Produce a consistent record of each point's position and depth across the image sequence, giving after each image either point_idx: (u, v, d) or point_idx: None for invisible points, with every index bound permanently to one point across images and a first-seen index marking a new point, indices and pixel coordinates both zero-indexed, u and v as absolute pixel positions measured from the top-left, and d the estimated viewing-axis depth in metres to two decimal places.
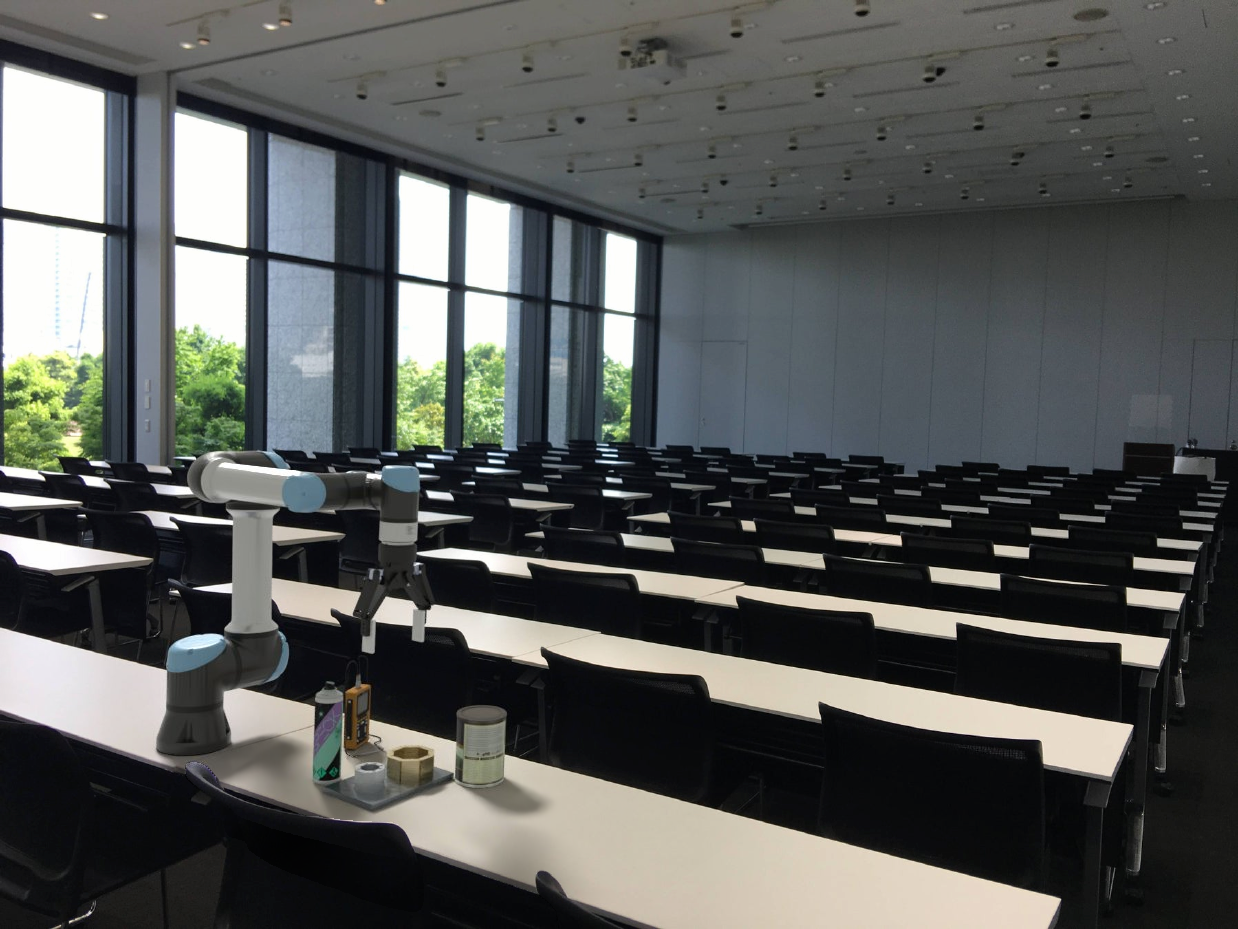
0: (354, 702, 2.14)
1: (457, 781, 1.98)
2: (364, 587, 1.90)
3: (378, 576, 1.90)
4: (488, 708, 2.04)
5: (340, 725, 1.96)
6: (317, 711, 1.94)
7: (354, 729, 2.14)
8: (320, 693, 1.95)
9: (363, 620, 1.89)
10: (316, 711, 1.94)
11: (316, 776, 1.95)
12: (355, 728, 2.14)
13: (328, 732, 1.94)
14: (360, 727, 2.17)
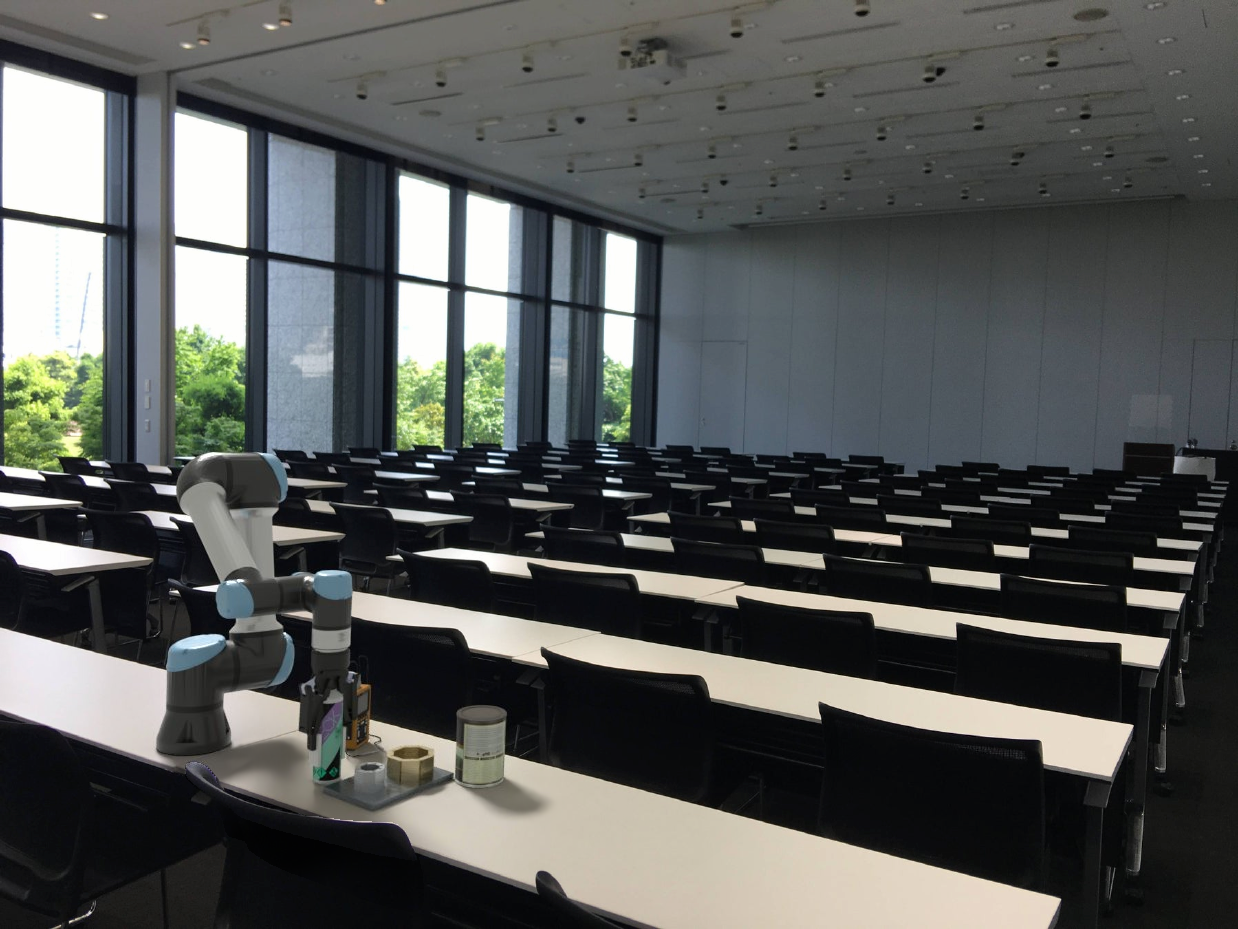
0: None
1: (457, 781, 1.98)
2: (301, 703, 1.92)
3: (310, 690, 1.91)
4: (488, 708, 2.04)
5: (340, 725, 1.96)
6: None
7: (354, 729, 2.14)
8: None
9: (309, 735, 1.93)
10: None
11: (316, 776, 1.95)
12: (355, 728, 2.14)
13: (328, 732, 1.94)
14: (360, 727, 2.17)
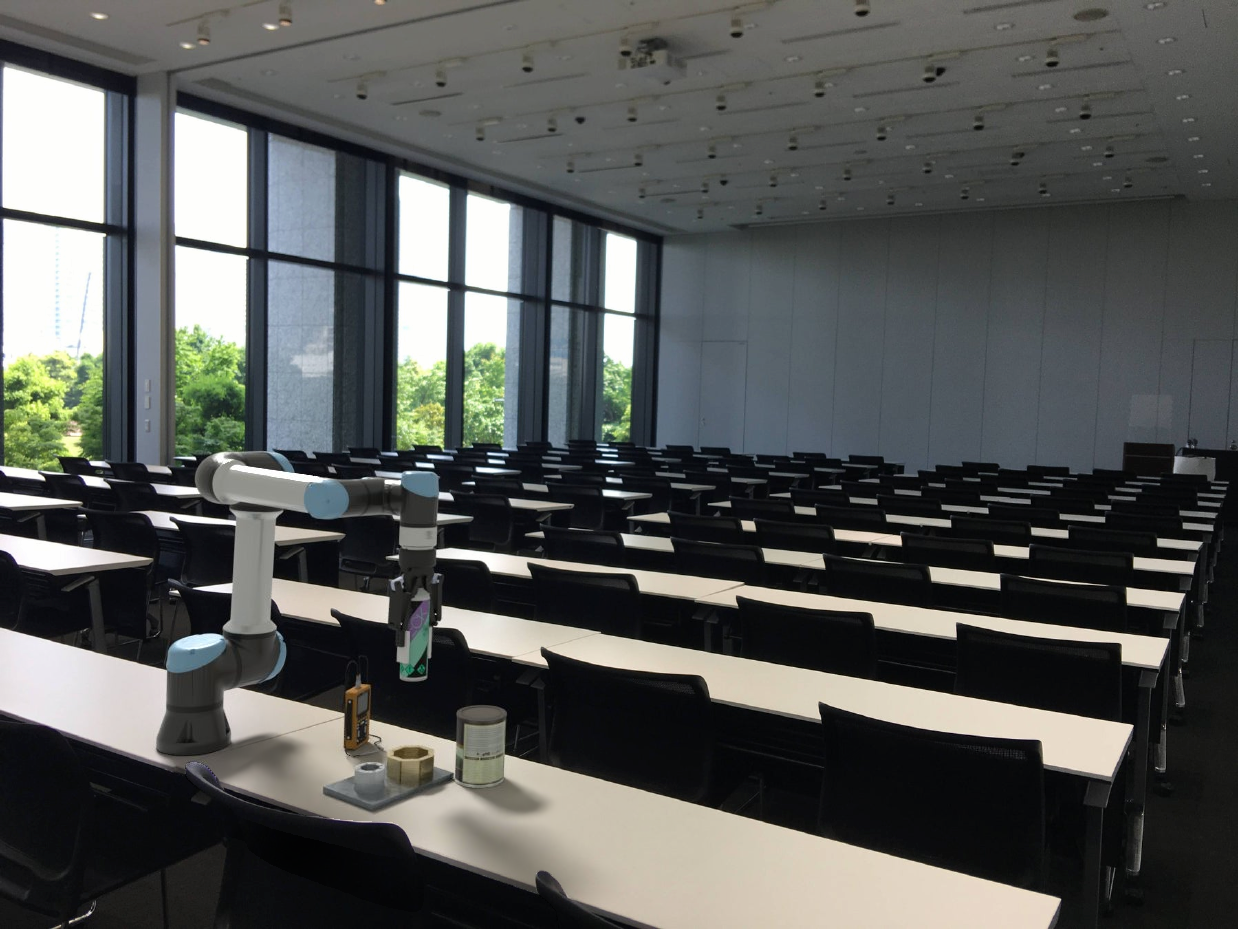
0: (354, 702, 2.14)
1: (457, 781, 1.98)
2: (390, 599, 1.93)
3: (400, 586, 1.93)
4: (488, 708, 2.04)
5: (427, 623, 1.98)
6: None
7: (354, 729, 2.14)
8: None
9: (398, 631, 1.94)
10: None
11: (404, 673, 1.96)
12: (355, 728, 2.14)
13: (417, 630, 1.96)
14: (360, 727, 2.17)
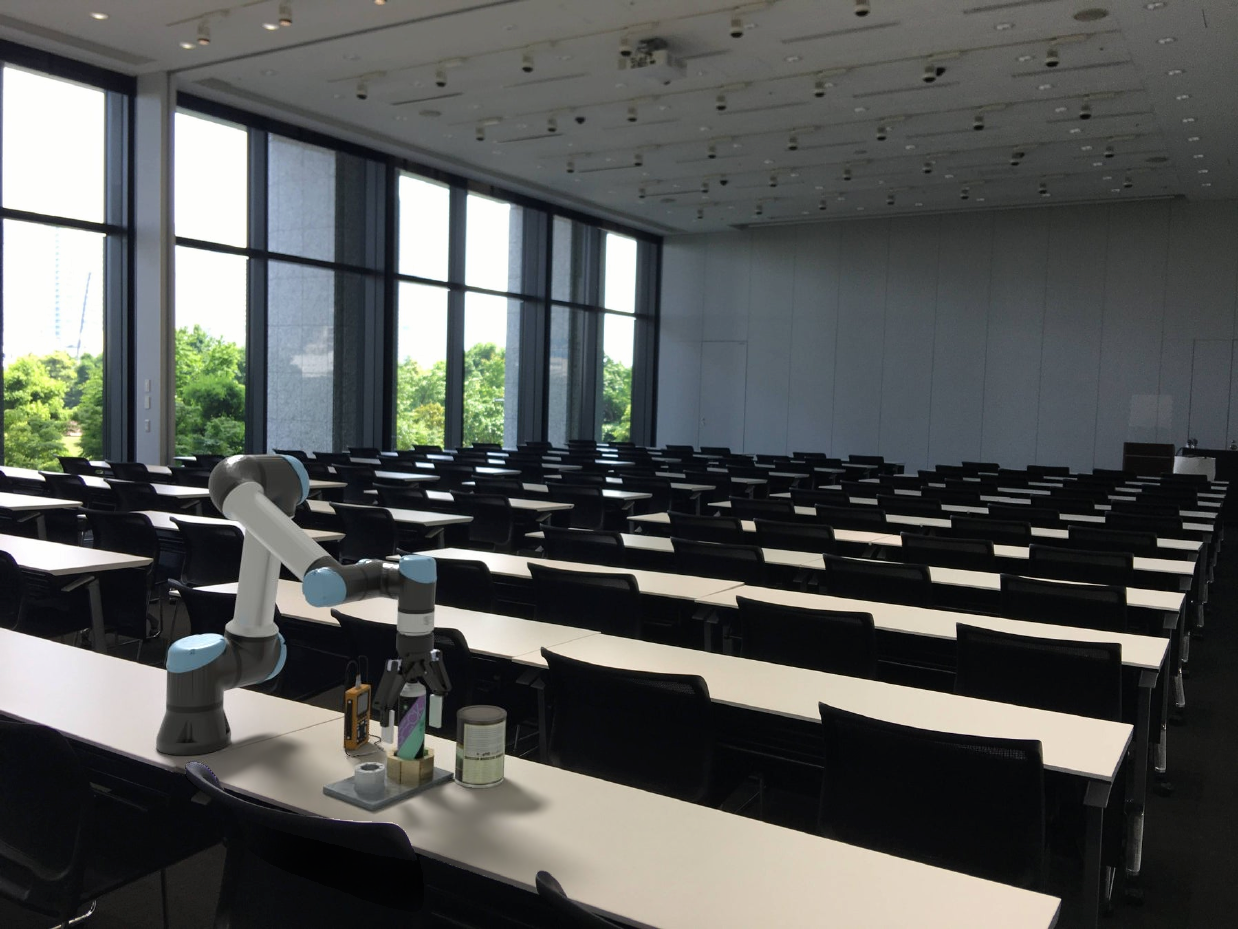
0: (354, 702, 2.14)
1: (457, 781, 1.98)
2: (383, 678, 1.93)
3: (396, 667, 1.93)
4: (488, 708, 2.04)
5: (423, 718, 1.99)
6: (402, 705, 1.97)
7: (354, 729, 2.14)
8: (404, 687, 1.98)
9: (382, 711, 1.92)
10: (400, 704, 1.97)
11: None
12: (355, 728, 2.14)
13: (413, 725, 1.97)
14: (360, 727, 2.17)
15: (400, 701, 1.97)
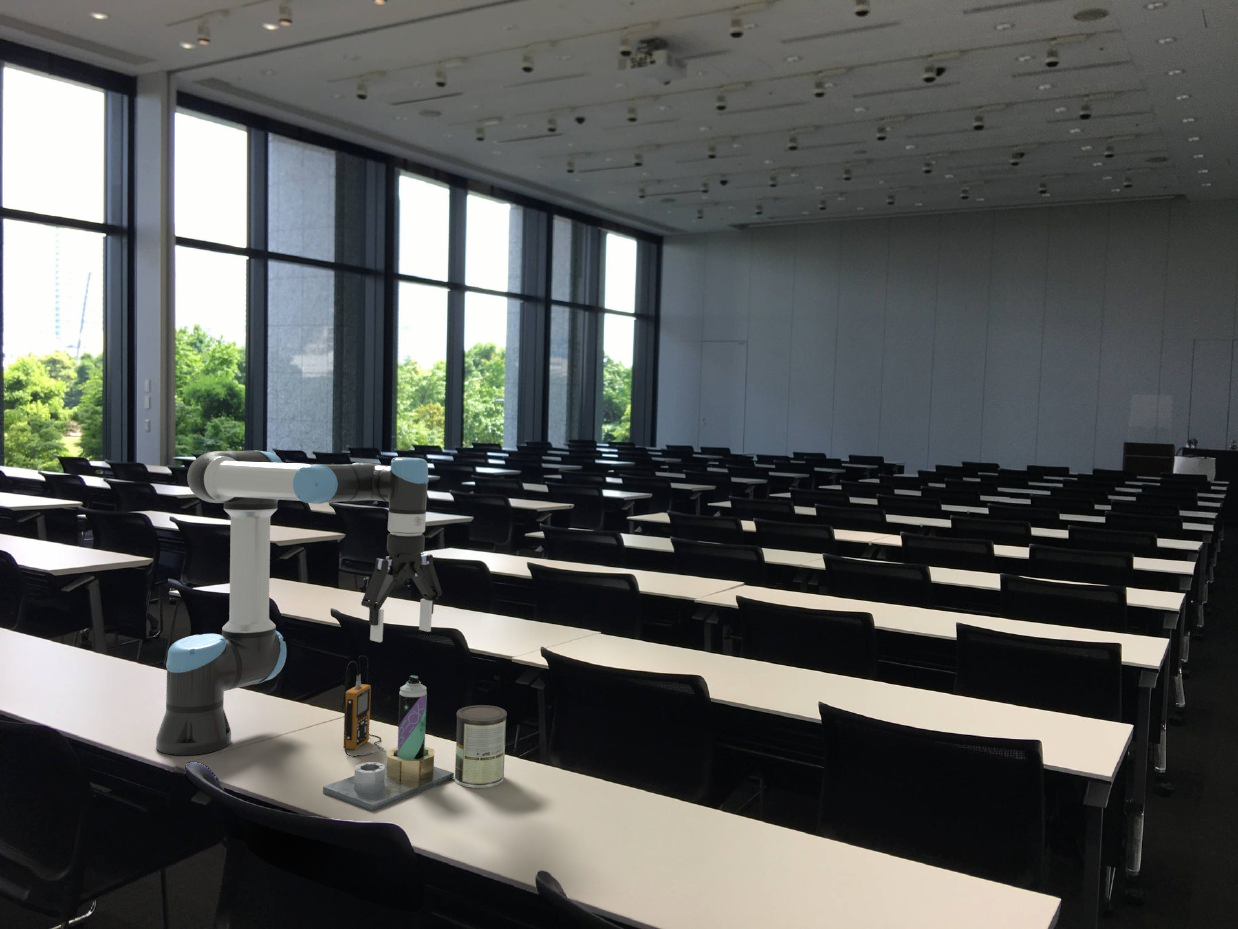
0: (354, 702, 2.14)
1: (457, 781, 1.98)
2: (373, 577, 1.93)
3: (386, 566, 1.93)
4: (488, 708, 2.04)
5: (424, 718, 1.99)
6: (403, 705, 1.97)
7: (354, 729, 2.14)
8: (405, 687, 1.98)
9: (371, 609, 1.92)
10: (401, 704, 1.97)
11: None
12: (355, 728, 2.14)
13: (413, 726, 1.97)
14: (360, 727, 2.17)
15: (401, 701, 1.97)
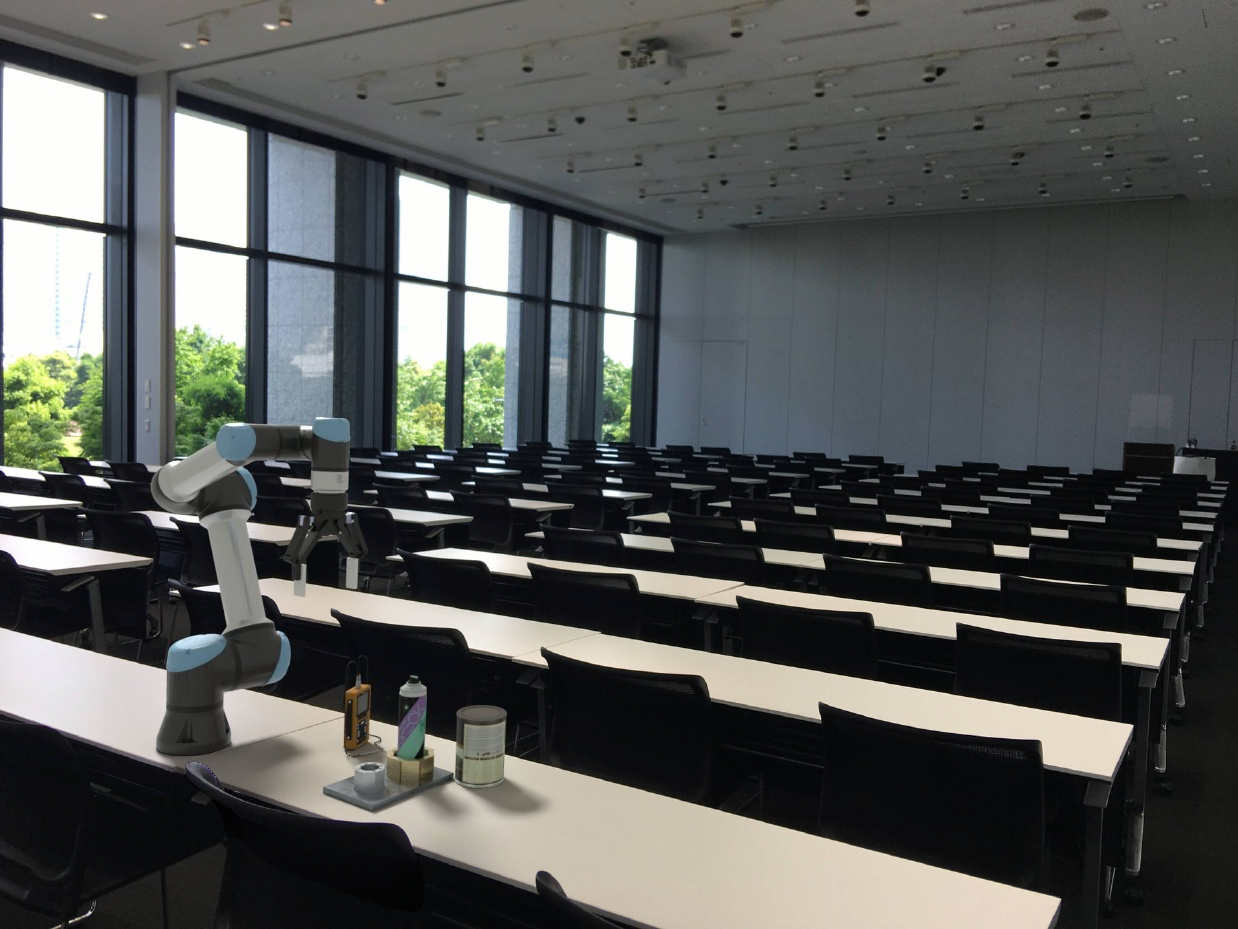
0: (354, 702, 2.14)
1: (457, 781, 1.98)
2: (295, 533, 1.97)
3: (308, 522, 1.98)
4: (488, 708, 2.04)
5: (424, 718, 1.99)
6: (403, 705, 1.97)
7: (354, 729, 2.14)
8: (405, 687, 1.98)
9: (294, 564, 1.97)
10: (401, 704, 1.97)
11: None
12: (355, 728, 2.14)
13: (413, 726, 1.97)
14: (360, 727, 2.17)
15: (401, 701, 1.97)
